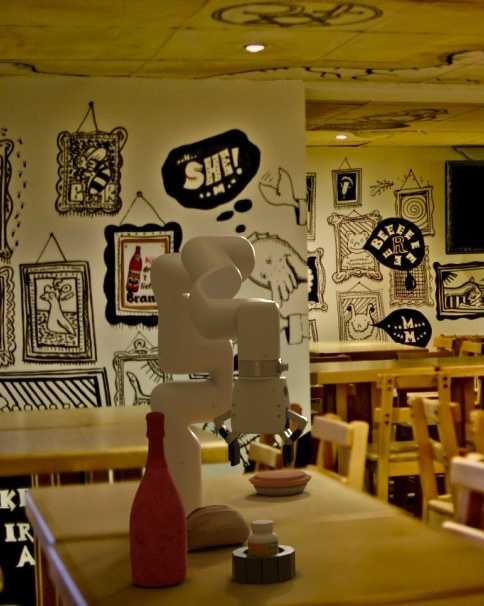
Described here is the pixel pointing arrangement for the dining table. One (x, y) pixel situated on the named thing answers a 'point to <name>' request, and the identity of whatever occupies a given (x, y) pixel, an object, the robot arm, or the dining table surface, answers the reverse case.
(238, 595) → the dining table surface
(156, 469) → the wine bottle
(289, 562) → the tape roll
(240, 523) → the bread roll
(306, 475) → the pie
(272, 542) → the supplement bottle
